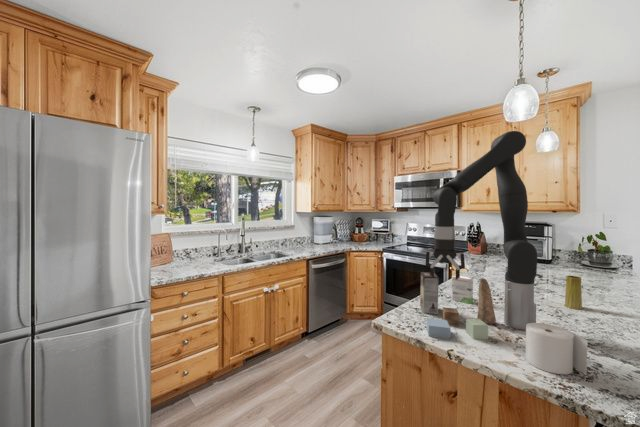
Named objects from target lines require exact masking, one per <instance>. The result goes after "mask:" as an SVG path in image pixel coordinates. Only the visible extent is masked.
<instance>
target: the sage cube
mask: <svg viewBox="0 0 640 427" xmlns="http://www.w3.org/2000/svg"><path fill="white" fill-rule="evenodd" d="M465 333H466V334H467V335H468V336H469V337H470V338H472V339H473V340H489V324H486V323H484V322H483V321H482V320H480V319H474V318H472V319H471V318H469V319H468V318H466V319H465Z"/></svg>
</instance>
